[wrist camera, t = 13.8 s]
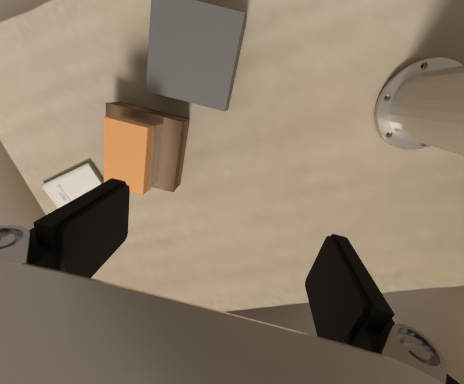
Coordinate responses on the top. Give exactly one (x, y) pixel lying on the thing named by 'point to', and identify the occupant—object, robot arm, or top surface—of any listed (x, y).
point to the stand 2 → (194, 51)
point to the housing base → (155, 146)
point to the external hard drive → (73, 184)
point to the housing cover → (128, 152)
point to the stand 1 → (171, 141)
